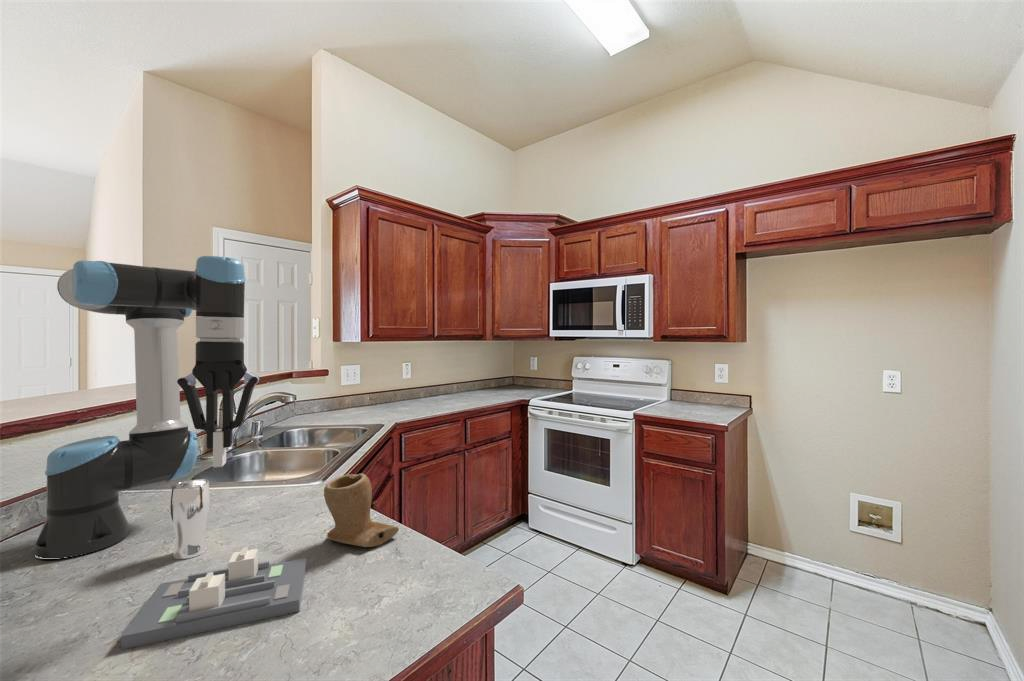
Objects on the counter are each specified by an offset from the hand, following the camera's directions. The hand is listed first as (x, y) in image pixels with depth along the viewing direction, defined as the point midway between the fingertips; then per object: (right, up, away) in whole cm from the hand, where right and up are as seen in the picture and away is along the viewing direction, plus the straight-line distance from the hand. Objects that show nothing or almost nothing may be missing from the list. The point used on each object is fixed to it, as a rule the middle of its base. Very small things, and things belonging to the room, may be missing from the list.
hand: (219, 464), depth 81 cm
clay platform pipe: (+20, -23, +18) cm, 35 cm away
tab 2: (+5, -21, -1) cm, 21 cm away
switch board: (+5, -23, -5) cm, 24 cm away
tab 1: (+5, -21, -10) cm, 23 cm away
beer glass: (-15, -23, +12) cm, 30 cm away
